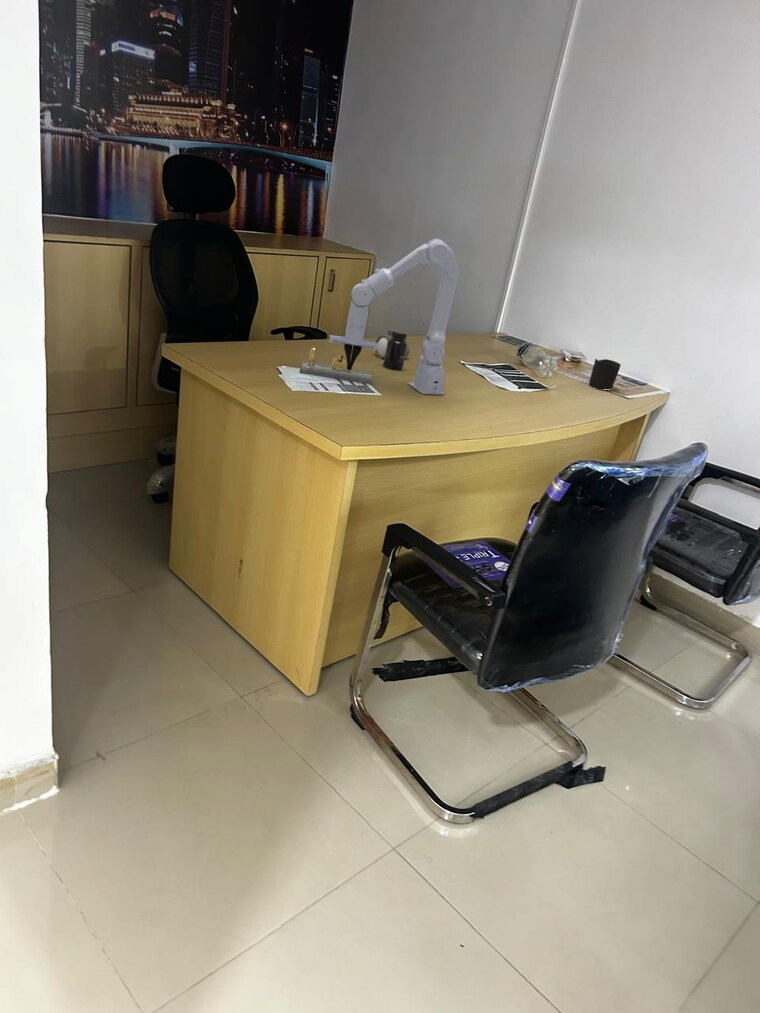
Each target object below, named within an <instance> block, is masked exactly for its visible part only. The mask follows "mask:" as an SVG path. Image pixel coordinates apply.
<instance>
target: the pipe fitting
mask: <svg viewBox="0 0 760 1013" xmlns="http://www.w3.org/2000/svg"><path fill="white" fill-rule="evenodd" d="M394 330H395V329H392V328H388V329H387V334H381V335H379V336H378V337H377V338H376V341H374V343H377V344H378V345H377V351H375V350H374V353H375V355H376V357H378V358H379V359H384V357H385V352H386V347H387V342H388V340H389V339H390V338H392V336H391V335H392V332H393V331H394ZM396 330H397V329H396ZM397 331H399V329H398V330H397ZM405 341H406V342H407V350H406V355H405V359H406V358H407V357H408V356H409V355H410V352H411V346H410V344H409V342H408V341H407V338H406V339H405Z"/></svg>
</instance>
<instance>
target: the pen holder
mask: <svg viewBox="0 0 760 1013" xmlns="http://www.w3.org/2000/svg"><path fill="white" fill-rule="evenodd" d="M621 366H622V365H621V363H620V362H618V361H614V360H611V359H606V358H605V359H599V360H598V359H597V358H595V359H594V363H593V367H592V370H591V374H590V377H589V382H588V385H589V387H591V386H592V387H591V388H593V387H595V388H597V389H596V390H599V389H611V388H612V389H613V387H614V385H615V382H616V380H617V376H618V374H619V371H620V369H621ZM595 388H594V389H595Z"/></svg>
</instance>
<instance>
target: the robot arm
mask: <svg viewBox="0 0 760 1013" xmlns="http://www.w3.org/2000/svg"><path fill="white" fill-rule="evenodd" d="M454 254H455V253H454V251H453V250H452V249H451V247H450V246H449V244H447V243H445V241H443V240H442V239H440V238H434V239H433V238H432V239H431V240H429V241H428V242H427V243H423V244H422V245H420V246H418V247H417V248H416V249H414V250H413V251H411V252H410V253H409V254H407V255H406V256H405V257H403V258H402V259H400V260H399V261H398V262H397V263H395V264H393V265H392V266H391V267H390V268H384V267H382V268H380V269H379V268H377V269H374V273H373V274H372V275H371V276H369V277H368V278H366V279H365V278H364V279H362V280H361V283H357V284H356V285H354V286H353V288H352V290H351V291H350V292H351V293H350V294H351V298H352V299H351V302H350V304H349V305H350V308H349V309H348V315H347V321H346V329H345V334H344V336H342V335H341V336H340V335H334V334H333V335H332V334H330V335H329V339H328V340H329V341H328V343H330V344H339V345H343V349H344V352H345V357H346V368H347V370H351V369H353V366H354V364H355V362H356V359H357V358H358V356H359V355H360V353H361V352H362V348H363V349H368V350H372V351H374V352H375V351H377V345H378V344H377V343H375V341H369V340H366V339H365V335H366V334H365V333H366V329H367V321H368V317H369V305H370V304H371V302H372V301H373V298H376V297H378V296H379V295H381V294H382V293H384V292H385V291H387V290H388V289H390V288H392V286H394V283H395V280H396V278H398V277H400V276H401V275H403V274H405V273H406V272H408V271H409V270H411V269H413V268H414V267H415V266H417V265H429V260H430V262H431V263H432V264H433V265H435V267H436V268H437V269H438V271H439V272H440V274H441V280H440V283H439V288H438V292H437V296H436V300H435V305H434V309H433V312H432V313H433V314H432V318H431V323H430V327H429V329H428V331H427V332H426V337H425V338H424V339H423V341H422V343H421V351H422V354H421V355H420V356H419V358H418V364H417V368H416V371H415V372H416V374H415V377H414V381H413V382H408V385H409V386H411V387H412V388H414V389H415V390H416V391H418V392H419V393H420V394H422V395H423V394H424V395H444V394H445V393H444V392H443V389H444V385H445V381H446V376H447V375H446V374H447V373H446V370H445V369H444V368H443V359H444V358H445V356H446V349H445V342H446V332H447V331H446V330H447V326H448V323H449V319H450V315H451V311H452V306H453V302H454V297H455V294H456V290H457V286H458V282H459V278H460V269H459V266H458V263H457V261H456V258H455V255H454Z"/></svg>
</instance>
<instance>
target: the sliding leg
mask: <svg viewBox="0 0 760 1013" xmlns="http://www.w3.org/2000/svg"><path fill="white" fill-rule="evenodd" d="M343 358H344V355H343V354H338V355H337V358H336V357H333V358H332V364H331V365H332V369H335V370H341V371H345V368H347V359H343Z"/></svg>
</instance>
